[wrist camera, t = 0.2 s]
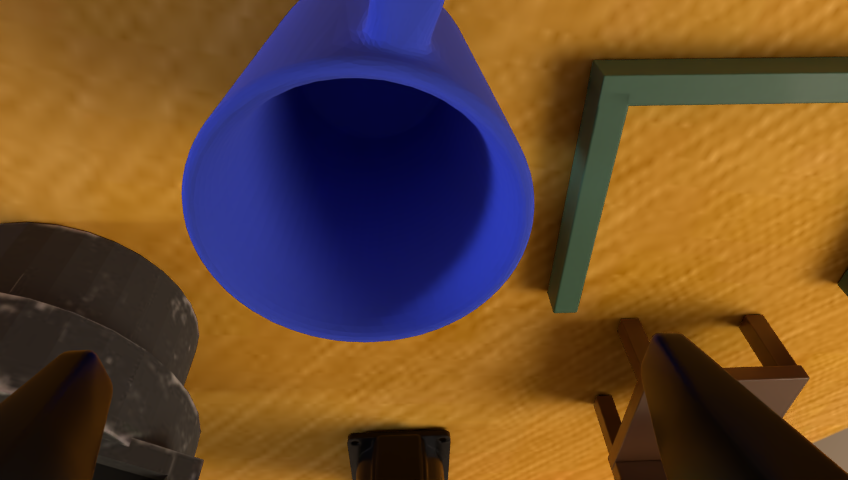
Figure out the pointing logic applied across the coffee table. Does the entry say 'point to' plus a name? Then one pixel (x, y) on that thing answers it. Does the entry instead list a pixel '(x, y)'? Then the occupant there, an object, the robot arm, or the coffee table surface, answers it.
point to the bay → (666, 86)
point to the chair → (635, 436)
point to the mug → (360, 175)
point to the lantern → (104, 341)
